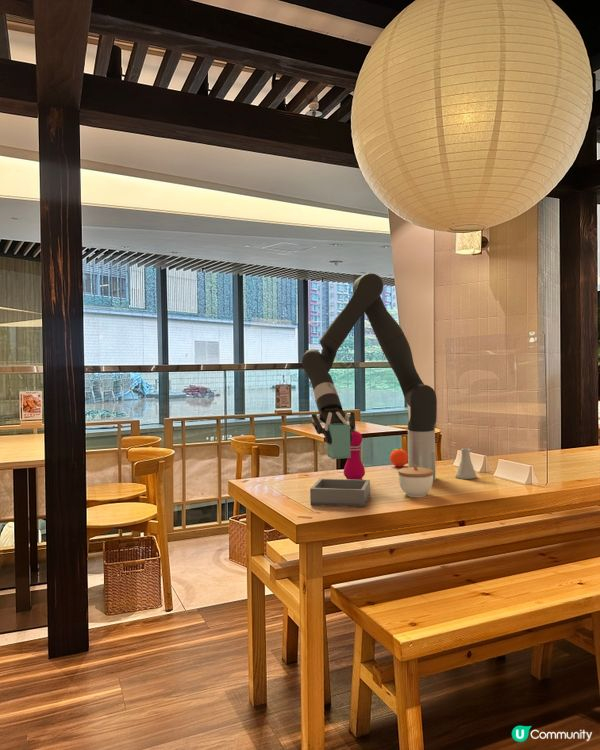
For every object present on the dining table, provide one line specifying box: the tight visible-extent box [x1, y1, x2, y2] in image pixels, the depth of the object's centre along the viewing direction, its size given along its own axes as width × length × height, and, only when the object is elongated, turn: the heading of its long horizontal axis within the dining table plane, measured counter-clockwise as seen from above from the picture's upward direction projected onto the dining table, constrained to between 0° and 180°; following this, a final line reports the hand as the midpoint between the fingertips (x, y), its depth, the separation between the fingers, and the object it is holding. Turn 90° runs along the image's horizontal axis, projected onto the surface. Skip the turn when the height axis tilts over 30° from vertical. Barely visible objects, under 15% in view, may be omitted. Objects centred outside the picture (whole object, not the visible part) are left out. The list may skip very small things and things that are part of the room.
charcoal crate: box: [309, 478, 371, 508], centre depth 182 cm, size 16×14×5 cm
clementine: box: [387, 448, 408, 468], centre depth 232 cm, size 8×7×7 cm
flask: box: [455, 448, 477, 480], centre depth 210 cm, size 7×7×10 cm
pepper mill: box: [343, 426, 366, 480], centre depth 202 cm, size 7×7×20 cm
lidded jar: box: [397, 465, 434, 498], centre depth 186 cm, size 11×11×9 cm
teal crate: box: [326, 423, 351, 460], centre depth 182 cm, size 6×6×10 cm
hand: (340, 442), depth 180 cm, fingers closed on teal crate, 5 cm apart
